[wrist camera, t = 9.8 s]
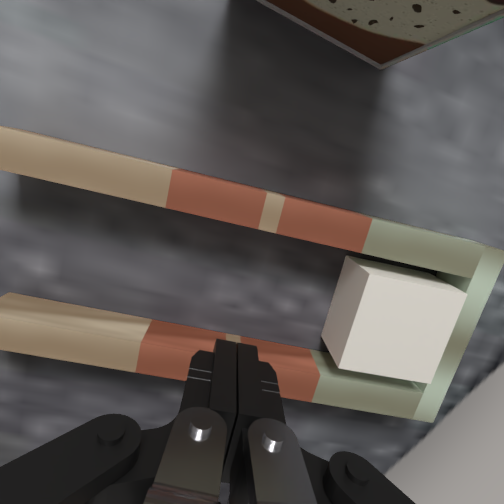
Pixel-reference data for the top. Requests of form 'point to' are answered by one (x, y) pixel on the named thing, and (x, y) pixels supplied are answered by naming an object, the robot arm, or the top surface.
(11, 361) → the top surface
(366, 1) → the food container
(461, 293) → the ivory block
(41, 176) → the channel
